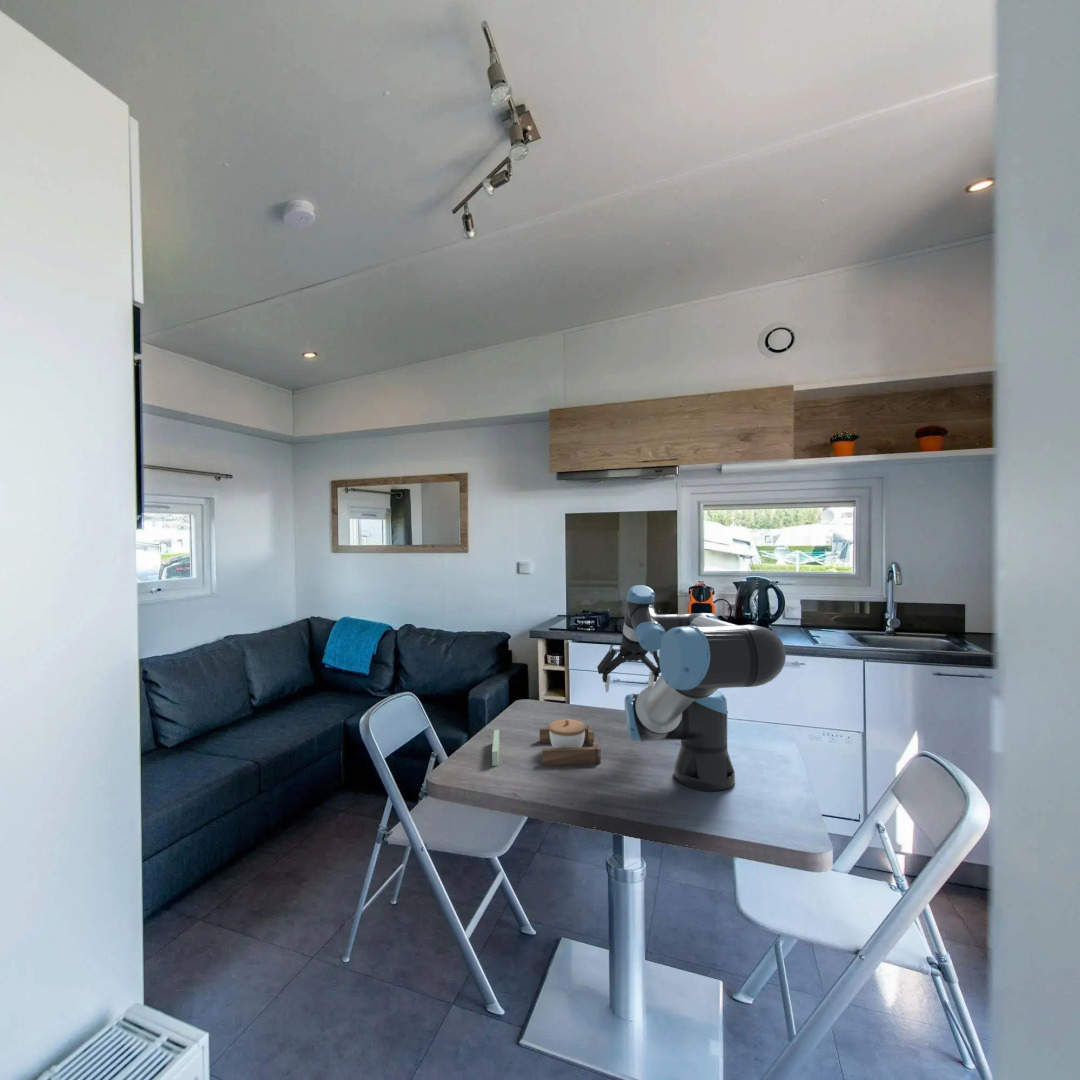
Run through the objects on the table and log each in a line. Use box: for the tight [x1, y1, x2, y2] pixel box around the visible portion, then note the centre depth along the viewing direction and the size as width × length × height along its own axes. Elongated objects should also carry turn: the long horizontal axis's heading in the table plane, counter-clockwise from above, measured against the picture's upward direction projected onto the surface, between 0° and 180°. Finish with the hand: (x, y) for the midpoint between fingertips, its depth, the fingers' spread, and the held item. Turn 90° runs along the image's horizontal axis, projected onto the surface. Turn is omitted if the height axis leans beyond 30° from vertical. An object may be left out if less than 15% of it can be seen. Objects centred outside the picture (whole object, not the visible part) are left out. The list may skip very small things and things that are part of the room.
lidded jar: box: [548, 718, 586, 748], centre depth 153 cm, size 11×11×9 cm
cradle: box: [539, 725, 602, 766], centre depth 153 cm, size 17×16×4 cm
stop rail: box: [491, 729, 500, 767], centre depth 152 cm, size 16×2×4 cm, turn 3°
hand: (628, 688), depth 161 cm, fingers open, 13 cm apart
